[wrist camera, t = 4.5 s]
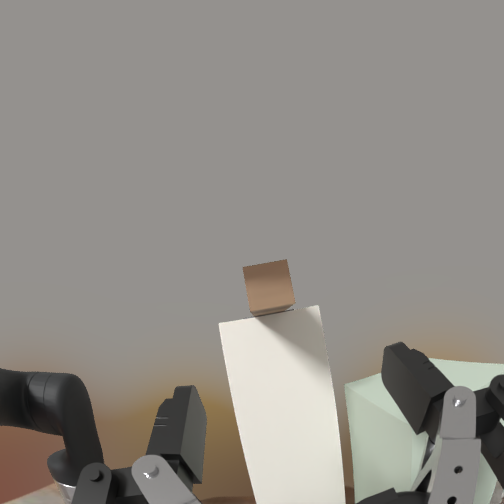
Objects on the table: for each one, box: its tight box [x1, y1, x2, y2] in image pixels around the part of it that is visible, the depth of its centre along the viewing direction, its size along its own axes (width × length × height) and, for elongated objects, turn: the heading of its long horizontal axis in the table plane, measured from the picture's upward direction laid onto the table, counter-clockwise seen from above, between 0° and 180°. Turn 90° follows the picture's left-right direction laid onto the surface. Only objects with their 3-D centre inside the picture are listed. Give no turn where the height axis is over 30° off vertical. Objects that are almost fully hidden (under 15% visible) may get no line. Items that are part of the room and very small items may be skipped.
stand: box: [219, 305, 345, 504], centre depth 27 cm, size 12×10×38 cm
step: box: [344, 358, 504, 504], centre depth 14 cm, size 14×10×29 cm
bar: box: [243, 260, 295, 316], centre depth 30 cm, size 24×3×3 cm, turn 178°
